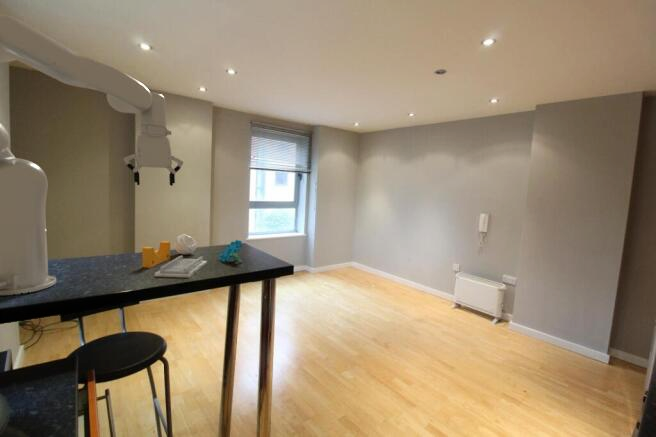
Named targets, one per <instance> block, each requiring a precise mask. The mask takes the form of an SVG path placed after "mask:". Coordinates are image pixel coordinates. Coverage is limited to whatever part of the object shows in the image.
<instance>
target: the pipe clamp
mask: <svg viewBox="0 0 656 437" xmlns="http://www.w3.org/2000/svg"><path fill="white" fill-rule="evenodd" d="M141 249H142V250H141V251H142V252H141V253H142V254H141V255H142V257H141V258H142V260H141V262H142V264H141V265H142V266H141V267H142V268H147V269H148V268H150V269H151V268H153V267H156V266H157V265H159V264H161V263H163V262H167V261H168V260H170V259H171V241H166V240H164V241H163V240H162V241H159V247H158V249H157V250H155V247H154V246H144V247H142V248H141Z"/></svg>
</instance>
